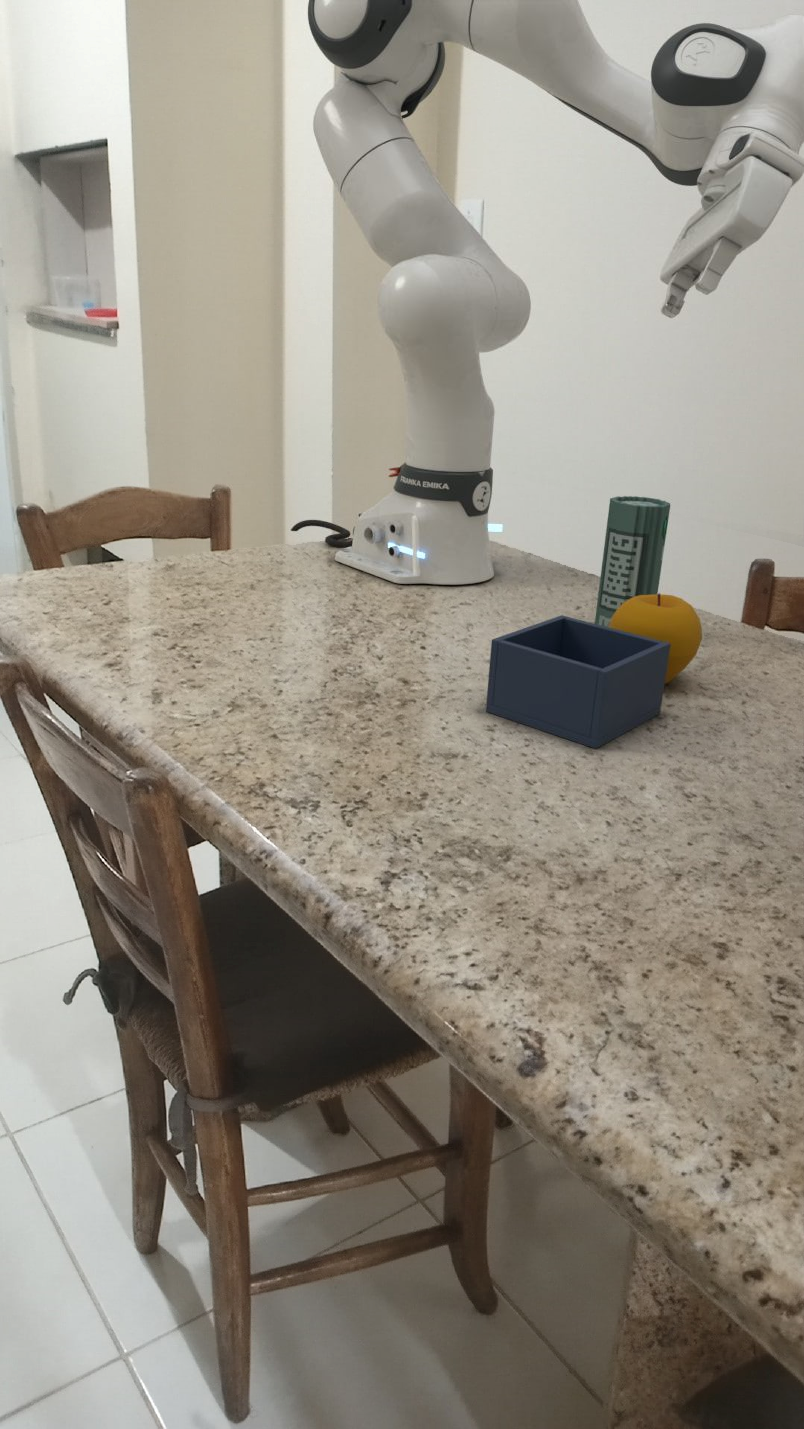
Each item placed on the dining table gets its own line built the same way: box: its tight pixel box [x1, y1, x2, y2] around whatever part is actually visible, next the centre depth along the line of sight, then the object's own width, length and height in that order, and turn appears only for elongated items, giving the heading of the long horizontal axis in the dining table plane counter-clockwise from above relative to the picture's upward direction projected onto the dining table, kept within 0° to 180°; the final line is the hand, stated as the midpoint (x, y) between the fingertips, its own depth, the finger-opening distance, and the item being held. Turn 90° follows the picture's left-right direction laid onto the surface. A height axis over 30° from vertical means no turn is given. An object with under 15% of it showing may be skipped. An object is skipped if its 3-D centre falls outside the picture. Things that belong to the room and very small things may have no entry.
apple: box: [609, 592, 703, 684], centre depth 100 cm, size 9×9×9 cm
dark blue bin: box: [485, 614, 671, 750], centre depth 91 cm, size 11×11×7 cm
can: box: [594, 495, 671, 627], centre depth 113 cm, size 6×6×15 cm
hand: (685, 303), depth 109 cm, fingers open, 8 cm apart
